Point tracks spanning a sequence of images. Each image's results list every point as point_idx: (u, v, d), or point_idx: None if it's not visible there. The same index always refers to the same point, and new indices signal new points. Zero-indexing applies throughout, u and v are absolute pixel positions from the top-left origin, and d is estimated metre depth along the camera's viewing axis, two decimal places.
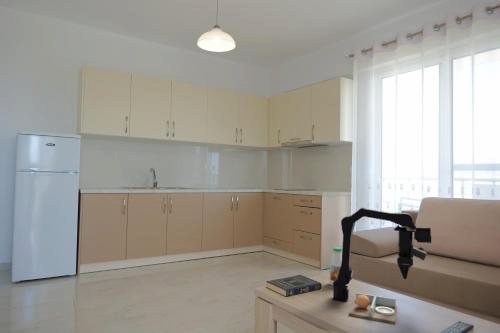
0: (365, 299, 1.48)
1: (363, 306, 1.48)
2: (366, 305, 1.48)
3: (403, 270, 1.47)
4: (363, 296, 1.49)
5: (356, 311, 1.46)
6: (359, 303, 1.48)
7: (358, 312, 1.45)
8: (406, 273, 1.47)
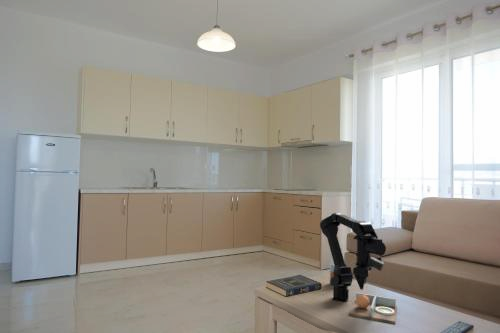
0: (365, 299, 1.48)
1: (363, 306, 1.48)
2: (366, 305, 1.48)
3: (359, 280, 1.46)
4: (363, 296, 1.49)
5: (356, 311, 1.46)
6: (359, 303, 1.48)
7: (358, 312, 1.45)
8: (362, 284, 1.45)
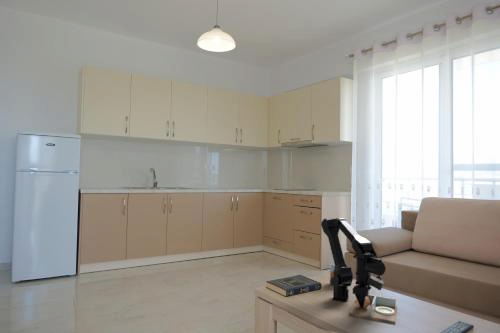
0: (365, 299, 1.48)
1: None
2: (366, 305, 1.48)
3: (360, 299, 1.47)
4: None
5: (356, 311, 1.46)
6: None
7: (358, 312, 1.45)
8: (362, 302, 1.46)
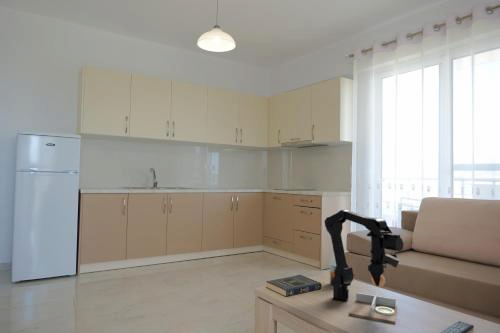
0: (380, 277, 1.45)
1: (379, 285, 1.45)
2: (382, 283, 1.45)
3: (375, 277, 1.44)
4: None
5: (356, 311, 1.46)
6: None
7: (358, 312, 1.45)
8: (378, 280, 1.44)
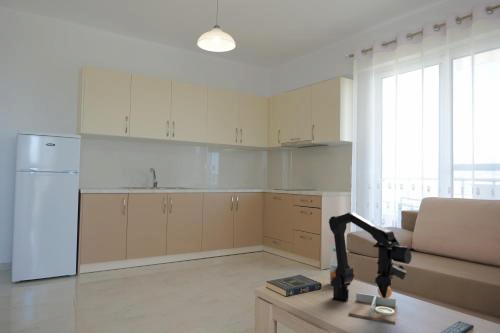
0: (387, 289, 1.44)
1: None
2: (388, 295, 1.44)
3: (382, 289, 1.43)
4: None
5: (356, 311, 1.46)
6: None
7: (358, 312, 1.45)
8: (385, 292, 1.43)
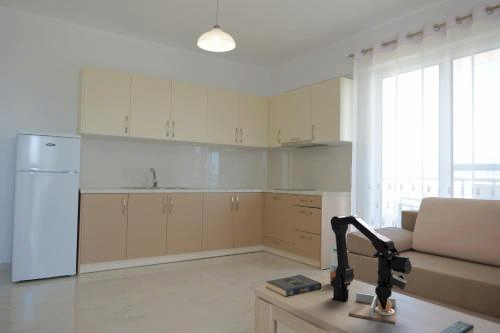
0: (387, 303, 1.44)
1: (385, 310, 1.44)
2: (388, 309, 1.44)
3: (382, 300, 1.41)
4: None
5: (356, 311, 1.46)
6: (381, 307, 1.44)
7: (358, 312, 1.45)
8: (385, 303, 1.41)
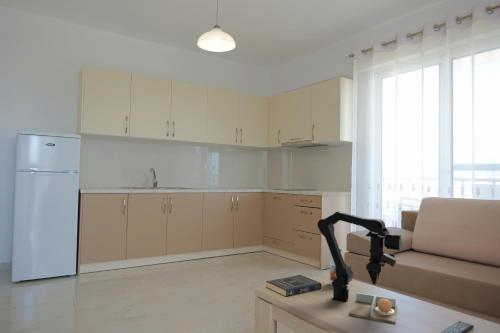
0: (387, 305, 1.43)
1: None
2: (388, 311, 1.43)
3: (372, 276, 1.50)
4: (385, 302, 1.43)
5: (356, 311, 1.46)
6: (381, 309, 1.44)
7: (358, 312, 1.45)
8: (375, 279, 1.50)
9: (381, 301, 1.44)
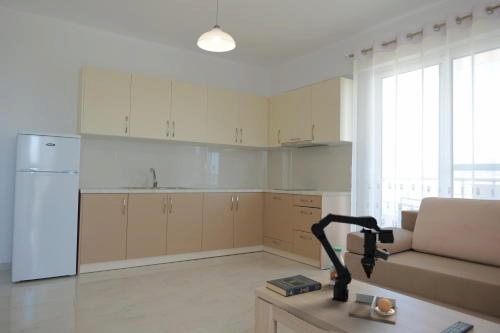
0: (387, 305, 1.43)
1: None
2: (388, 310, 1.43)
3: (367, 270, 1.57)
4: (385, 302, 1.44)
5: (356, 311, 1.46)
6: (381, 309, 1.44)
7: (358, 312, 1.45)
8: (369, 273, 1.56)
9: (381, 301, 1.45)
